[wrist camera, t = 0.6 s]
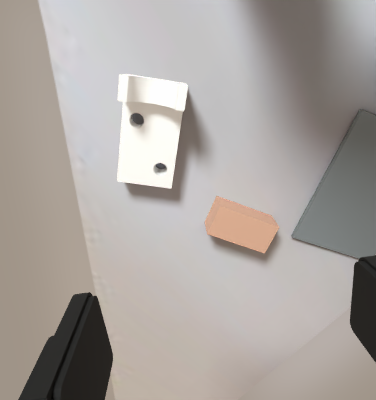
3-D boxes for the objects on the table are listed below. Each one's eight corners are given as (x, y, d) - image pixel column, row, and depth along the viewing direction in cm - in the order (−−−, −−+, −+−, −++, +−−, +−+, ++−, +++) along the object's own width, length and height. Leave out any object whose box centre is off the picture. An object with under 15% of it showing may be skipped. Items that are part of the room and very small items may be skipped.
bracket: (129, 73, 39) (119, 74, 32) (185, 83, 39) (188, 85, 32) (121, 173, 44) (111, 192, 37) (171, 180, 44) (171, 200, 37)
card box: (216, 195, 45) (220, 206, 42) (271, 215, 47) (279, 227, 43) (204, 221, 47) (207, 234, 43) (257, 239, 48) (264, 253, 45)
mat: (359, 109, 41) (362, 109, 41) (445, 144, 44) (448, 145, 43) (291, 235, 48) (292, 237, 48) (367, 260, 50) (370, 262, 50)
